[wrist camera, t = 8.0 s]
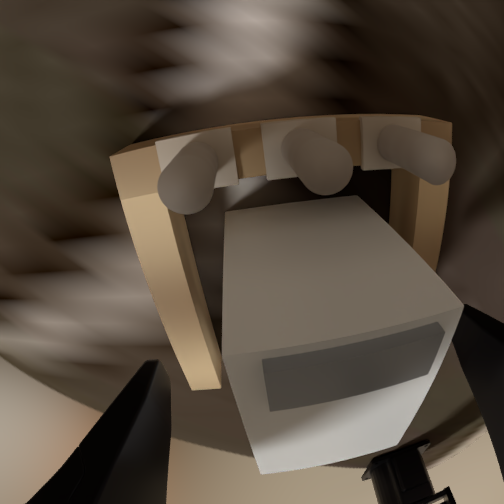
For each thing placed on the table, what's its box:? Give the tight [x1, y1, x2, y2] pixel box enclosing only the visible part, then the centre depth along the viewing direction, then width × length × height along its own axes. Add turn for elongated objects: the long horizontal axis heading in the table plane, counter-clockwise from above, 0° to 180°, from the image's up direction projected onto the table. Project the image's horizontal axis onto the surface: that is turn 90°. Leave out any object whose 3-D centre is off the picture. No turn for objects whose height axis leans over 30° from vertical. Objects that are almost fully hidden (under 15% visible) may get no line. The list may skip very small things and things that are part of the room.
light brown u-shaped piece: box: [110, 114, 456, 390], centre depth 9 cm, size 9×9×4 cm
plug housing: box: [222, 195, 464, 474], centre depth 8 cm, size 6×4×6 cm
